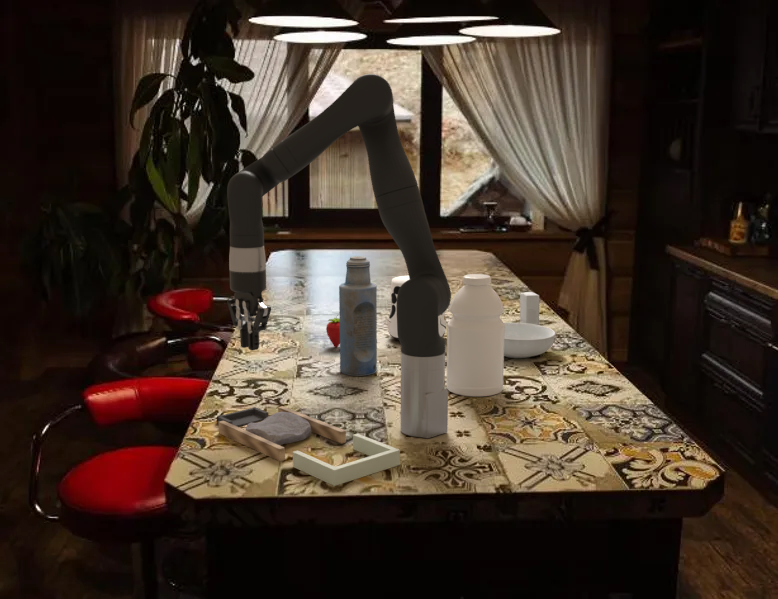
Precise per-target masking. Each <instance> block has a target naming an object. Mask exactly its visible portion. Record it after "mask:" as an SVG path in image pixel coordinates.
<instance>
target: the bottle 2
mask: <svg viewBox="0 0 778 599" xmlns="http://www.w3.org/2000/svg"><path fill="white" fill-rule="evenodd" d="M462 283H463V284H464V285H463V286H461V287H460V288H459V290H457V291H456V293H455V294H454V296H453V297H452V298H451V301H450V305H449V307H448V311H449V312H450V313H451V314H452V317H451V318H450V320H448V322H446V379H445V384H446V389H448V392H451V393H452V394H456V395H459V396H463V397H488V396H489V397H491V396H494V395H497V394H500V393H502V391H503V388H504V382H505V381H504V367H505V366H504V365H505V364H504V363H505V356H504V337H505V323H506V322H504V321H503V320H502V318H501V317H500V316H502V315H503V313H504V311H505V307H504V304H503V301H502V300H501V298H500V296H499V294H498V293H497V292H496V291H495V289H494V288H493V287H492V286H491V284H492V277H491V276H490V274H489V275H488V274H485V273H484V274H483V273H471V274H470V273H468V274H465V275H463V277H462Z"/></svg>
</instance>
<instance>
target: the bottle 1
mask: <svg viewBox="0 0 778 599" xmlns="http://www.w3.org/2000/svg"><path fill="white" fill-rule="evenodd" d="M370 266H371V264H370V260H369V259H367V257H365V256H359V255H358V256H357V255H355V256H350V257H349V259H348V260H347V261H346V274H345V280H344V282H343V283H341V284H339V287H338V296H339V298H338V300H339V313H338V315H339V319H340V344H339V361H340V362H339V368H340V370H339V371H340V372H341V373H342V374H344V375H347V376H353V377H354V376H355V377H357V376H358V377H360V376H362V377H363V376H370V375H372V374H375V373H377V370H378V365H377V364H378V362H377V361H378V359H377V358H378V357H377V356H378V349H377V348H378V347H377V345H378V337H377V332H378V331H377V329H378V328H377V324H378V320H377V319H378V318H377V312H378V311H377V310H378V309H377V304H378V303H377V302H378V301H377V299H378V298H377V297H378V296H377V295H378V292H377V288H378V286H377V285H376V283H373V282H372V281H371V280H372V279H371V271H370V268H371V267H370Z"/></svg>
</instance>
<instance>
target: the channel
mask: <svg viewBox="0 0 778 599" xmlns="http://www.w3.org/2000/svg"><path fill="white" fill-rule="evenodd" d="M277 408H278V410H277V412H288V413H293V414H295V415H298V416H300V417H301V418H303V419H305V420H307V421H308V422H309V424H310V427H311V433H314V434H315V435H316V434H317V435H319V436H321V437H323V438H327V439H329V440H331V441H333V442H335V443H338V444H341V445H343V444H346V442H347V440H346V439H347V432H346V430H345V429H342V428H340V427H337V426H334V425H332V424H330V423H327V422H324V421H321V420H319V419H316V418H314V417H311V416H309V415H306V414H304V413H302V412H300V411H299V412H298V411H296V410H294V409H290V408H288V407H286V406H283V405H281V406H277ZM218 434H220V435H222V436H223V437H226V438H229V439H231V440H233V441H235V442H237V443H240V444H241V445H243V446H245V447H248V448H250V449H252V450H254V451H257V452H259V453H260V454H263V455H265V456H267V457H270V458H271V459H274V460H276V461H278V462H283V461H285V460H286V449H285V448H286V447H284V446H283V445H277V444H275V443H273V442H271V441H268V440H266V439H264V438H262V437H259V436H257V435H255V434H253V433H250V432H248V431H246V429H243V428H241V427H240V426H238V427H237V426H235V425H232V424H230V423H228V422H226V421H220V422H219V424H218Z"/></svg>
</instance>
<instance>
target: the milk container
mask: <svg viewBox="0 0 778 599" xmlns="http://www.w3.org/2000/svg"><path fill="white" fill-rule="evenodd" d="M409 279H410V278H409V274H408V275H400V276H395V277H392V278H391V283H390V284H391V285H390V286H391V287H390V290H391V291H390V310H389V315H388V319H387V329H388V334H389V335H390V336H391V337H392V338H393V339H394V340H397V341H399V338H398V333H397V295H398V291H399V289H400V287H401V286H402V284H403V283H404V282H406V281H407V280H409ZM438 328H439V335H440V336H441V337H443V338H444V337H445V334H446V332H447V317H446V314H445V312H444V313H442V314H441V315H439V316H438Z"/></svg>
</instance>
